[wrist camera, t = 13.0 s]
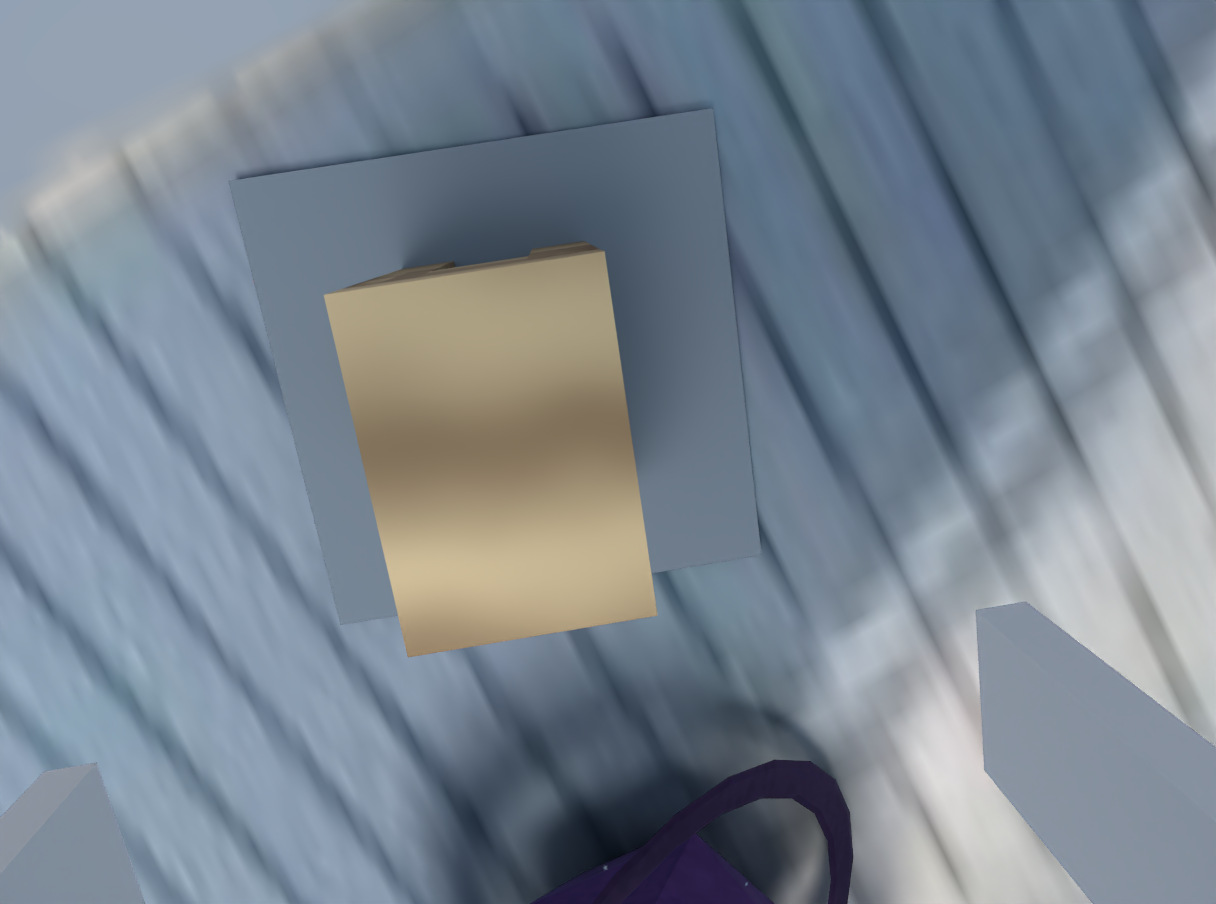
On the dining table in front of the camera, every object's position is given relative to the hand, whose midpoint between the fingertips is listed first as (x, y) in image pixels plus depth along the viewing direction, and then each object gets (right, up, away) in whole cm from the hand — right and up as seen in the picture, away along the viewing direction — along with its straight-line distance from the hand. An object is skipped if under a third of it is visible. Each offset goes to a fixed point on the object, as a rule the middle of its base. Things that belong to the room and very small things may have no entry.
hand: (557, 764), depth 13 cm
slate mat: (-3, +8, +22) cm, 24 cm away
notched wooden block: (-3, +7, +21) cm, 23 cm away
